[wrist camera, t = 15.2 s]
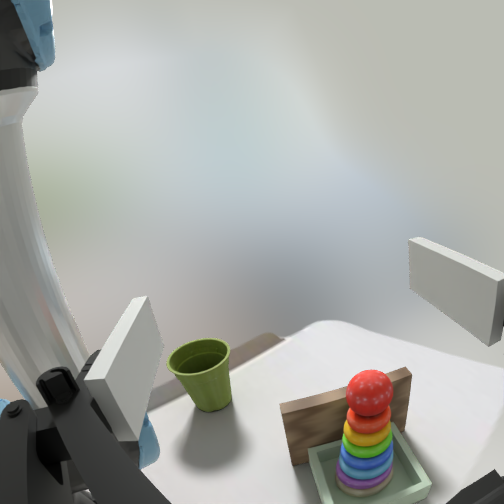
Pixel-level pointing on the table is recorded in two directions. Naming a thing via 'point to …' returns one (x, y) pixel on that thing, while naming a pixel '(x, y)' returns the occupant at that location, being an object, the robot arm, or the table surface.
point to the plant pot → (203, 372)
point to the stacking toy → (366, 436)
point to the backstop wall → (334, 416)
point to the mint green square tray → (390, 498)
